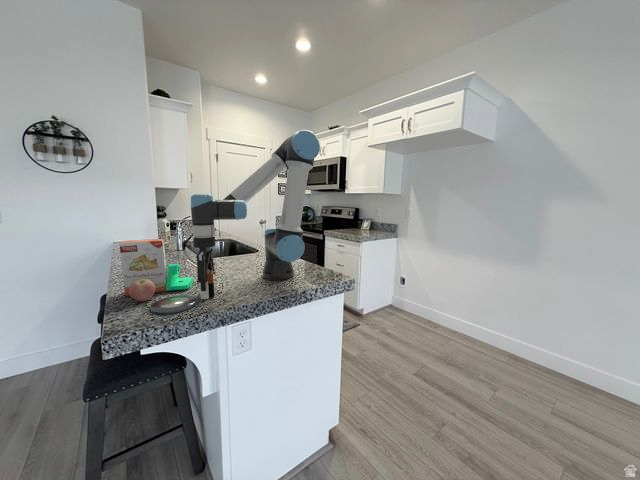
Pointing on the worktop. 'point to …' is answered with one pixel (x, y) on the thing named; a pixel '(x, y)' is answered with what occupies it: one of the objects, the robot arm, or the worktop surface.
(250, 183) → the robot arm
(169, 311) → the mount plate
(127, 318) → the worktop surface
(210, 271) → the battery
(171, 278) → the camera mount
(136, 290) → the apple
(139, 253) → the cracker box
